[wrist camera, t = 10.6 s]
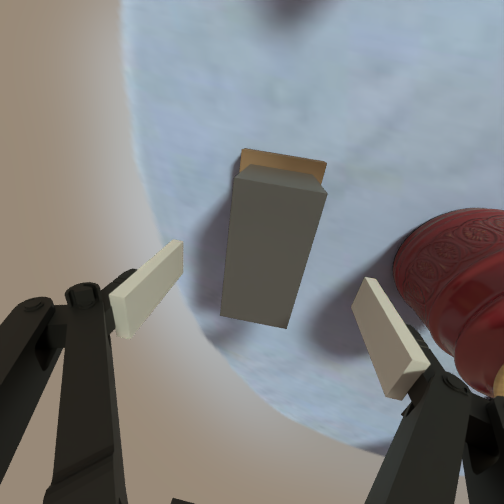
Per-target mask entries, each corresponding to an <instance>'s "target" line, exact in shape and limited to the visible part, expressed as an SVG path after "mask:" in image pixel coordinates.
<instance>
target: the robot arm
mask: <svg viewBox="0 0 504 504" xmlns="http://www.w3.org/2000/svg"><path fill="white" fill-rule="evenodd" d="M182 274H183V241H179V240H172V241H171V242H170V243H168V244H167V245H166V246H165V247H164V248H163V249H161V250H160V251H159V252H158V253H157V254H156V255H154V256H153V257H152V258H151V259H150V260H149V261H147V262H146V263H145V264H144V265H143V266H142V267H141V268H140V269H138V270H137V269H130V270H128V271H126V272H124V273H122V274H121V275H120V276H119V277H118V278H116V279H115V280H114V281H113V282H111V283H110V284H109V285H107V286H106V287H105V288H104V289H102V290H100V287H99V285H98V284H96V283H91V282H87V283H80V284H76V285H74V286H72V287H70V288H69V289H68V290H67V291H66V292H65V297H66V301H67V304H68V305H54V304H53V301H52V300H51V298H48V297H36V298H32V299H28V300H25V301H24V302H22V303H20V304H18V306H16V307H15V308H14V309H13V310H12V312H11V313H10V314H9V315H8V316H7V318H6V319H5V320H4V322H3V323H2V324H1V325H0V484H1V482H2V480H3V478H4V476H5V473H6V471H7V469H8V467H9V465H10V462H11V460H12V458H13V456H14V454H15V451H16V449H17V447H18V445H19V443H20V441H21V439H22V436H23V434H24V432H25V430H26V428H27V425H28V423H29V421H30V419H31V416H32V415H33V412H34V410H35V408H36V406H37V404H38V402H39V399H40V397H41V395H42V393H43V390H44V388H45V386H46V384H47V382H48V380H49V377H50V375H51V373H52V371H53V369H54V367H55V364H56V362H57V360H58V358H59V356H60V354H61V351H62V349H63V348H65V355H64V364H63V375H62V385H61V397H60V406H59V417H58V427H57V438H56V448H55V460H54V469H53V478H52V482H51V485H50V486H49V488H48V489H47V490H46V493H45V496H44V500H43V504H128V501H127V494H126V487H125V478H124V468H123V458H122V449H121V439H120V428H119V418H118V408H117V398H116V388H115V378H114V368H113V357H112V348H111V338H110V333H111V332H112V331H113V330H114V329H115V330H116V335H117V336H118V337H122V338H127V339H131V338H132V337H133V336H134V334H135V333H136V332H137V331H138V329H139V328H140V327H141V326H142V324H143V323H144V322H145V321H146V319H147V318H148V317H149V315H150V314H151V313H152V312H153V310H154V309H155V308H156V307H157V305H158V304H159V303H160V301H161V300H162V299H163V298H164V296H165V295H166V294H167V293H168V291H169V290H170V289H171V288H172V286H173V285H174V284H175V283H176V281H177V280H178V279H179V277H180V276H181V275H182ZM351 309H352V311H353V314H354V316H355V319H356V322H357V324H358V327H359V329H360V332H361V334H362V337H363V340H364V342H365V345H366V347H367V350H368V353H369V355H370V358H371V360H372V363H373V366H374V368H375V371H376V373H377V376H378V378H379V381H380V384H381V386H382V389H383V391H384V394H385V397H388V398H392V399H397V400H401V401H402V400H403V398H404V397H405V396H406V394H407V393H408V395H409V397H410V399H411V401H412V402H411V403H410V404H409V405H408V406H407V408H406V409H405V410H404V411H403V413H402V414H401V415H402V416H403V418H402V421H401V423H400V425H399V427H398V430H397V432H396V434H395V436H394V439H393V441H392V443H391V445H390V448H389V450H388V452H387V454H386V457H385V459H384V461H383V463H382V465H381V468H380V470H379V472H378V474H377V477H376V479H375V481H374V483H373V486H372V488H371V490H370V492H369V495H368V497H367V499H366V501H365V504H454V501H455V496H456V489H457V484H458V478H459V472H460V466H461V461H462V460H463V467H464V473H465V479H466V486H467V492H468V498H469V504H504V396H496V397H494V398H492V399H491V400H490V401H489V400H487V399H485V398H482V397H480V396H478V395H476V394H474V393H472V392H471V391H470V389H469V388H468V386H467V385H466V384H465V383H464V382H463V381H462V380H460V379H459V378H458V377H456V376H455V375H453V374H451V373H449V372H446V371H445V370H444V369H443V367H442V366H441V364H440V363H439V361H438V360H437V358H436V357H435V356H434V354H433V353H432V351H431V350H430V349H429V347H428V345H427V344H426V343H425V342H424V340H423V338H422V337H421V335H420V334H419V332H417V331H416V330H415V329H414V328H413V327H412V326H411V325H407V324H405V323H404V322H403V320H402V319H401V317H400V316H399V314H398V313H397V311H396V309H395V308H394V306H393V305H392V303H391V302H390V300H389V299H388V297H387V296H386V294H385V292H384V291H383V289H382V288H381V286H380V285H379V283H378V282H377V280H376V279H373V278H368V277H364V280H363V282H362V284H361V286H360V288H359V291H358V293H357V295H356V297H355V299H354V302H353V304H352V306H351ZM171 504H194V503H190V502H186V501H183V500H179V499H175V498H173V499H172V502H171Z"/></svg>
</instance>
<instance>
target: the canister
mask: <svg viewBox="0 0 504 504" xmlns="http://www.w3.org/2000/svg"><path fill="white" fill-rule="evenodd" d="M393 277H394V281H395V283H396V287H397V289H398V292H399V293H400V295H401V296H402V298H403V299H404V301H405V302H406V303H407V304H408V305H409V306H410V307H411V308H413V310H414V311H415V312H416V314H417V315H418V316H419V318H420V319H421V320H422V322H423V323H424V324H425V326H426V327H427V328H428V330H429V331H430V333H431V336H432V338H433V340H434V341H435V343H436V344H437V345H438V346H439V347H440V348H441V349H442V350H443V351H445V352H446V353H447V354H449V355H451V356H452V357H454V362H455V366H456V369H457V371H458V373H459V375H460V376H461V378H462V379H463V380H464V381H465V382H466V383H467V384H468V385H469V386H471V387H472V388H473V389H475V390H476V391H478V392H480V393H482V394H484V395H487V396H489V397H492V398H494V397H496V396H504V210H498V209H487V208H466V209H460V210H455V211H451V212H448V213H445V214H443V215H440V216H438V217H436V218H434V219H432V220H430V221H428V222H426V223H425V224H423V225H422V226H420V227H419V228H418V229H416V230H415V231H414V232H413V233H412V234H411V235H410V236H409V237H408V238H407V239H406V240H405V241H404V243H403V244H402V245H401V247H400V248H399V250H398V252H397V254H396V257H395V259H394V263H393Z"/></svg>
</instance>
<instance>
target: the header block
mask: <svg viewBox="0 0 504 504" xmlns="http://www.w3.org/2000/svg"><path fill="white" fill-rule="evenodd" d="M250 164H254V165H260V166H266V167H271V168H277V169H283V170H289V171H295V172H301V173H307V174H313V175H314V177H315V178H316V179H317V181H318V182H319V183H320V184H321V183H322V179H323V176H324V172H325V169H326V165H327V163H326V162H324V161H319V160H313V159H307V158H301V157H295V156H289V155H283V154H277V153H271V152H265V151H259V150H253V149H247V148H244V149H242V153H241V162H240V171H239V173H240V172H241V171H242V170H244V169H245V168H246V167H247V166H248V165H250Z"/></svg>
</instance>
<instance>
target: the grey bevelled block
mask: <svg viewBox="0 0 504 504" xmlns="http://www.w3.org/2000/svg"><path fill="white" fill-rule="evenodd" d="M327 194H328V193H327V192H326V191H325V190H324V188H323V187H322V186H321V184H320V183H319V182H318V181H317V179H316V178H315V177H314V175H313V174H307V173H301V172H295V171H289V170H283V169H277V168H271V167H266V166H260V165H254V164H250V165H248V166H247V167H246V168H245V169H244V170H242V171H241V172H240V173H239V174H238V175H236V176H235V177H234V183H233V193H232V203H231V212H230V222H229V232H228V242H227V252H226V262H225V272H224V281H223V291H222V301H221V311H220V316H224V317H229V318H234V319H239V320H244V321H249V322H254V323H259V324H264V325H269V326H274V327H279V328H284V329H287V326H288V322H289V319H290V316H291V313H292V309H293V306H294V303H295V299H296V296H297V293H298V290H299V286H300V283H301V280H302V276H303V273H304V270H305V267H306V263H307V260H308V257H309V253H310V250H311V247H312V244H313V240H314V237H315V234H316V230H317V227H318V224H319V221H320V217H321V214H322V211H323V207H324V204H325V201H326V198H327Z"/></svg>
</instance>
